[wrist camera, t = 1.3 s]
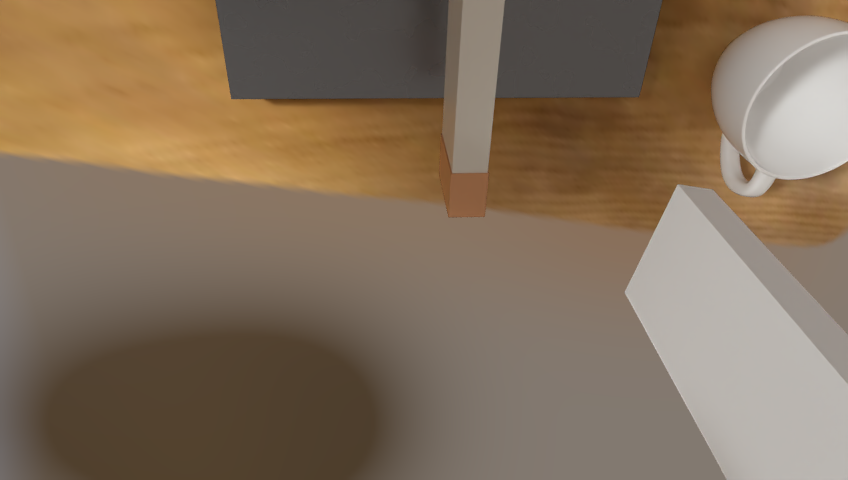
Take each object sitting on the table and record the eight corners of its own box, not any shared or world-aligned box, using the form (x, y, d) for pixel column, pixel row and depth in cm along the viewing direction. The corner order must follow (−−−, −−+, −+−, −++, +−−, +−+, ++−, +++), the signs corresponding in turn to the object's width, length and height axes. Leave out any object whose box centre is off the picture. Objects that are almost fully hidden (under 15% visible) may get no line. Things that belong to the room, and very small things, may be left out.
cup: (845, 8, 34) (939, 46, 28) (757, 166, 39) (821, 224, 34) (721, -18, 33) (795, 17, 27) (647, 150, 38) (696, 207, 32)
